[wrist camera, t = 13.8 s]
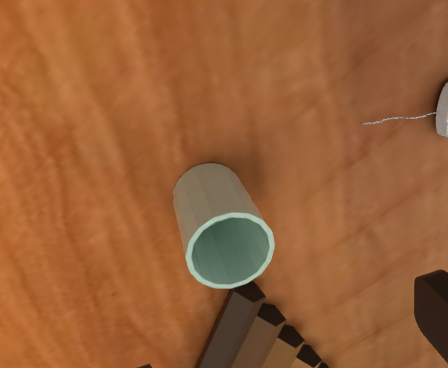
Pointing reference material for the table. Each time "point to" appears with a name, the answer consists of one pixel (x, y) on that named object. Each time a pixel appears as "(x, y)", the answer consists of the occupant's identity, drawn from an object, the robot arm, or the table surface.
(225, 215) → the cup
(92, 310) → the table surface
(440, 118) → the game controller
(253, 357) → the pan flute
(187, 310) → the table surface
